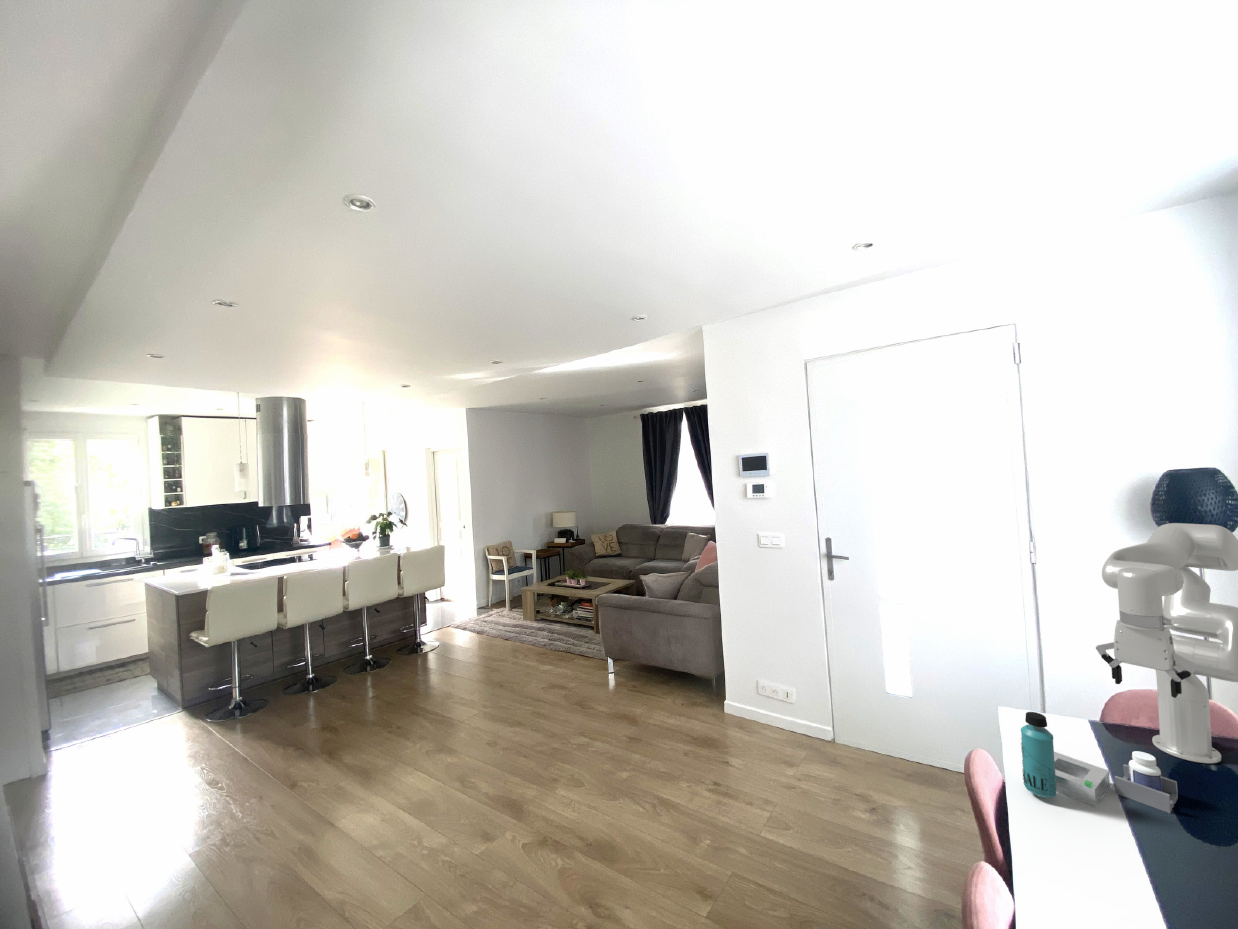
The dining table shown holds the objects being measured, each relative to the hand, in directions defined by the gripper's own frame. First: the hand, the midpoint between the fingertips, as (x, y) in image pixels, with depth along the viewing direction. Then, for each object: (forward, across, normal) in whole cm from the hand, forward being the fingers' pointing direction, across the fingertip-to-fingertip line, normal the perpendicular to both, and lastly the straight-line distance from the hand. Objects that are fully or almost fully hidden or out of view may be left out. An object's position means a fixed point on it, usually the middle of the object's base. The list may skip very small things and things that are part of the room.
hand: (1146, 689), depth 123 cm
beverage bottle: (+25, +16, +23) cm, 37 cm away
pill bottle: (+25, 0, +4) cm, 26 cm away
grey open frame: (+25, 0, +4) cm, 25 cm away
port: (+25, +13, +12) cm, 30 cm away
